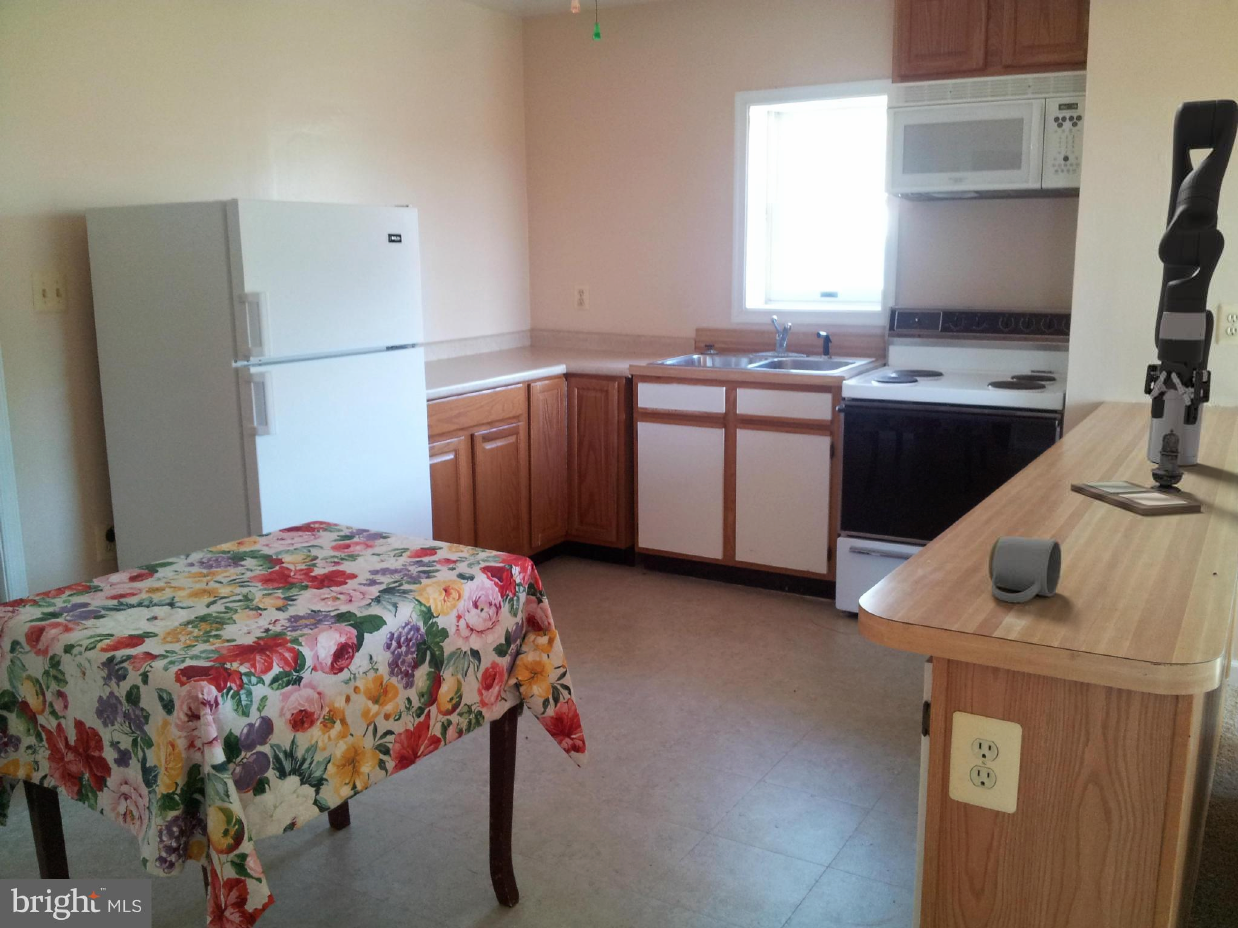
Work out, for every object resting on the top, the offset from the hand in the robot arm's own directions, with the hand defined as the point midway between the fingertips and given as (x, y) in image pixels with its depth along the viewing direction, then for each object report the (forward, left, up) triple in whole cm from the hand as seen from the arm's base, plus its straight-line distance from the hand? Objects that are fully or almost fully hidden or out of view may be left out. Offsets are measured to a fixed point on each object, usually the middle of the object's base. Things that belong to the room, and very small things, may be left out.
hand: (1172, 421), depth 197 cm
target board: (+6, -12, -13) cm, 19 cm away
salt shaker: (0, 0, -14) cm, 14 cm away
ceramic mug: (+48, -62, -14) cm, 80 cm away
